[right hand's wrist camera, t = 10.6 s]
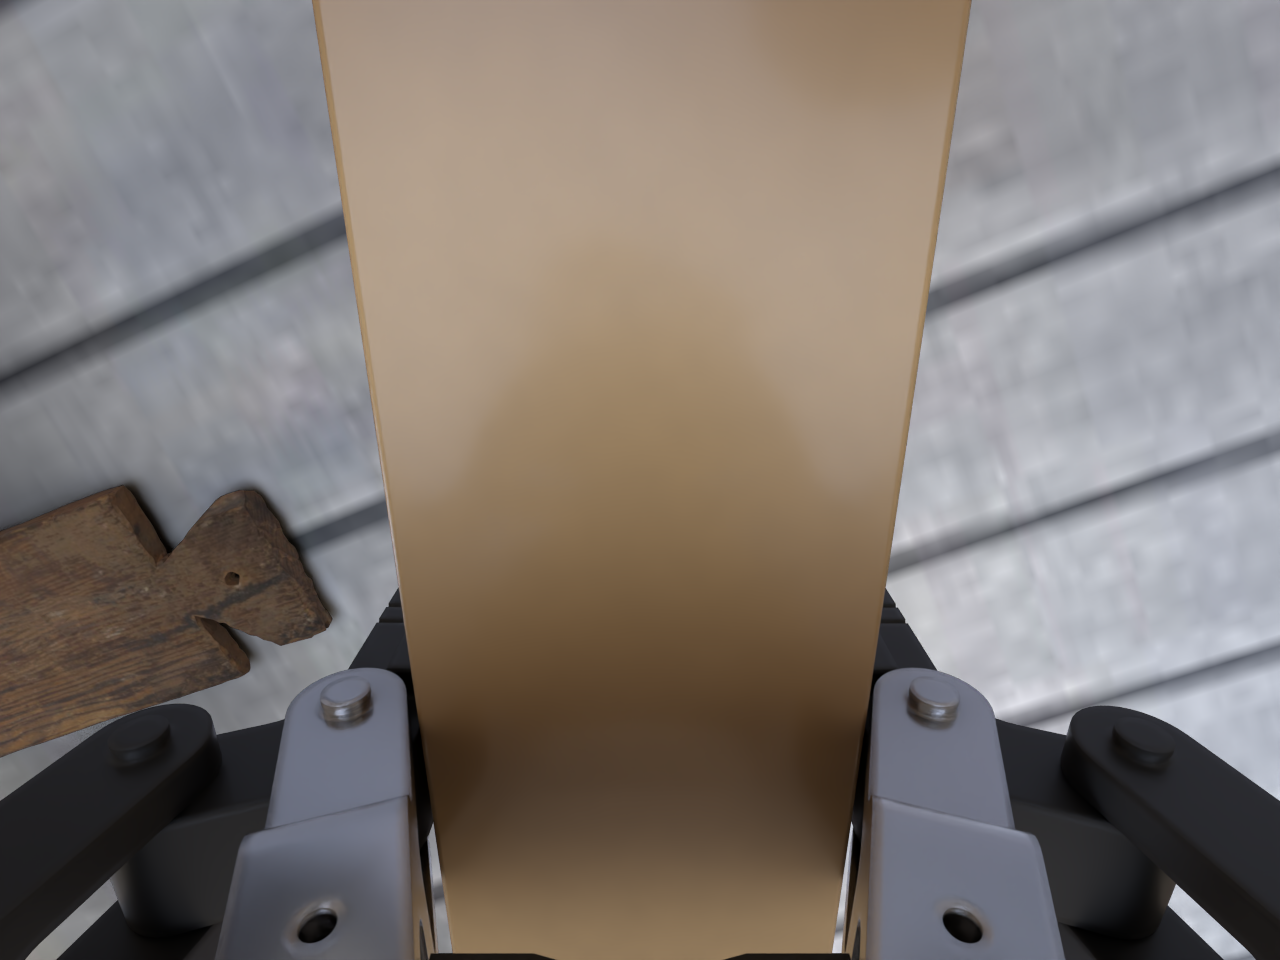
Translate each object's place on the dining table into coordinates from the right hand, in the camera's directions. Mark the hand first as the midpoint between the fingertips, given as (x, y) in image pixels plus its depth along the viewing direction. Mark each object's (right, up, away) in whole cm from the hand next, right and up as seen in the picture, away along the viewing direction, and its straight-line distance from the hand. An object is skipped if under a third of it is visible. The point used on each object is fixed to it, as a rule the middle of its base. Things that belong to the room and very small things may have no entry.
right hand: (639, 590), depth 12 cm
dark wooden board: (-27, -5, +20) cm, 34 cm away
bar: (0, +10, 0) cm, 10 cm away
